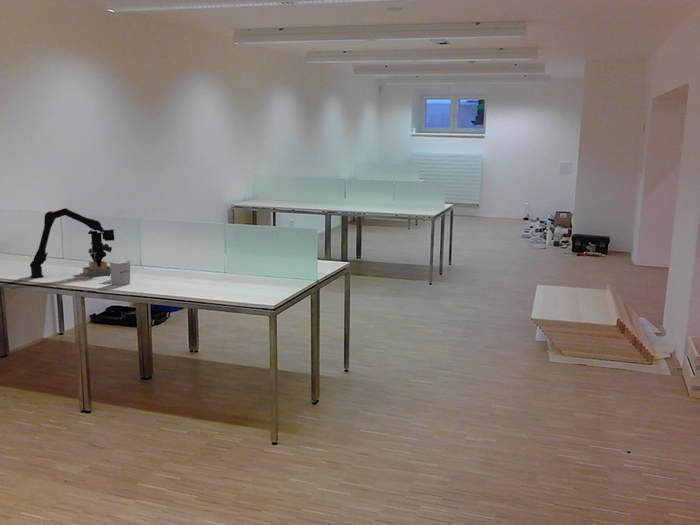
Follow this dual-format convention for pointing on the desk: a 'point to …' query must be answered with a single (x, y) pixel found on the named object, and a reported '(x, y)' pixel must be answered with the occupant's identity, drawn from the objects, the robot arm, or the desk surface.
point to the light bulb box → (122, 260)
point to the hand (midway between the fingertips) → (97, 266)
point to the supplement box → (120, 273)
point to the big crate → (96, 272)
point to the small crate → (97, 266)
